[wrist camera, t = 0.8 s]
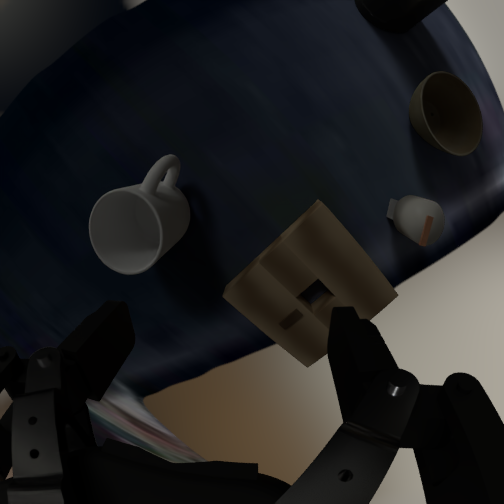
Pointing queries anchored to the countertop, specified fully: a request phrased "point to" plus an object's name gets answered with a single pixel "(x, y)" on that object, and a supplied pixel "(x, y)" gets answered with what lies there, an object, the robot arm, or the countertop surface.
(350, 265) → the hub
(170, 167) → the mug
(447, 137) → the yellowish brown bowl
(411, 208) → the knob
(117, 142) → the countertop surface
